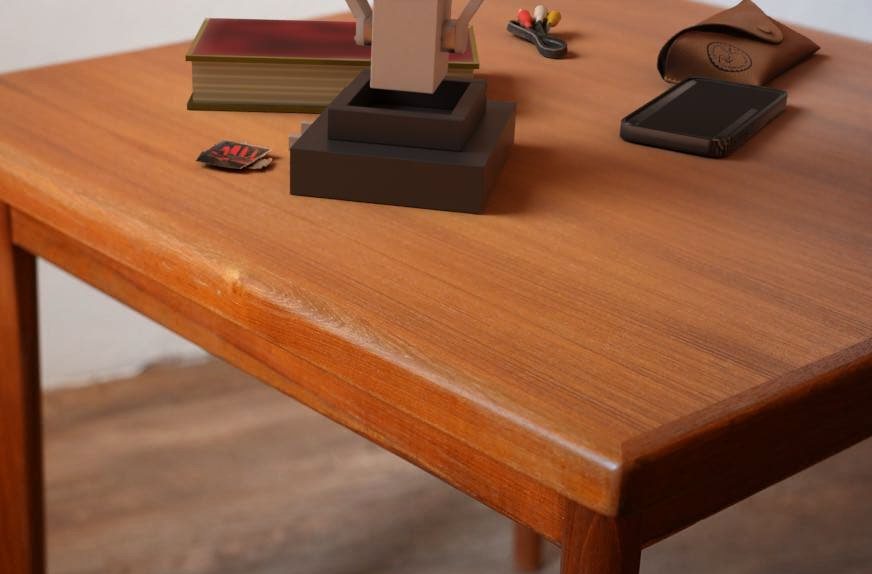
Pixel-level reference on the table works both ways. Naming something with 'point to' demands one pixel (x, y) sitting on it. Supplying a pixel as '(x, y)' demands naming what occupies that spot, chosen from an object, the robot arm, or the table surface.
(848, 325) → the table surface
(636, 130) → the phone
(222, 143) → the matchbox
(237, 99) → the hardcover book
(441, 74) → the block
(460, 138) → the stepped square holder
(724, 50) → the sunglasses case
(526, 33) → the composite cable
